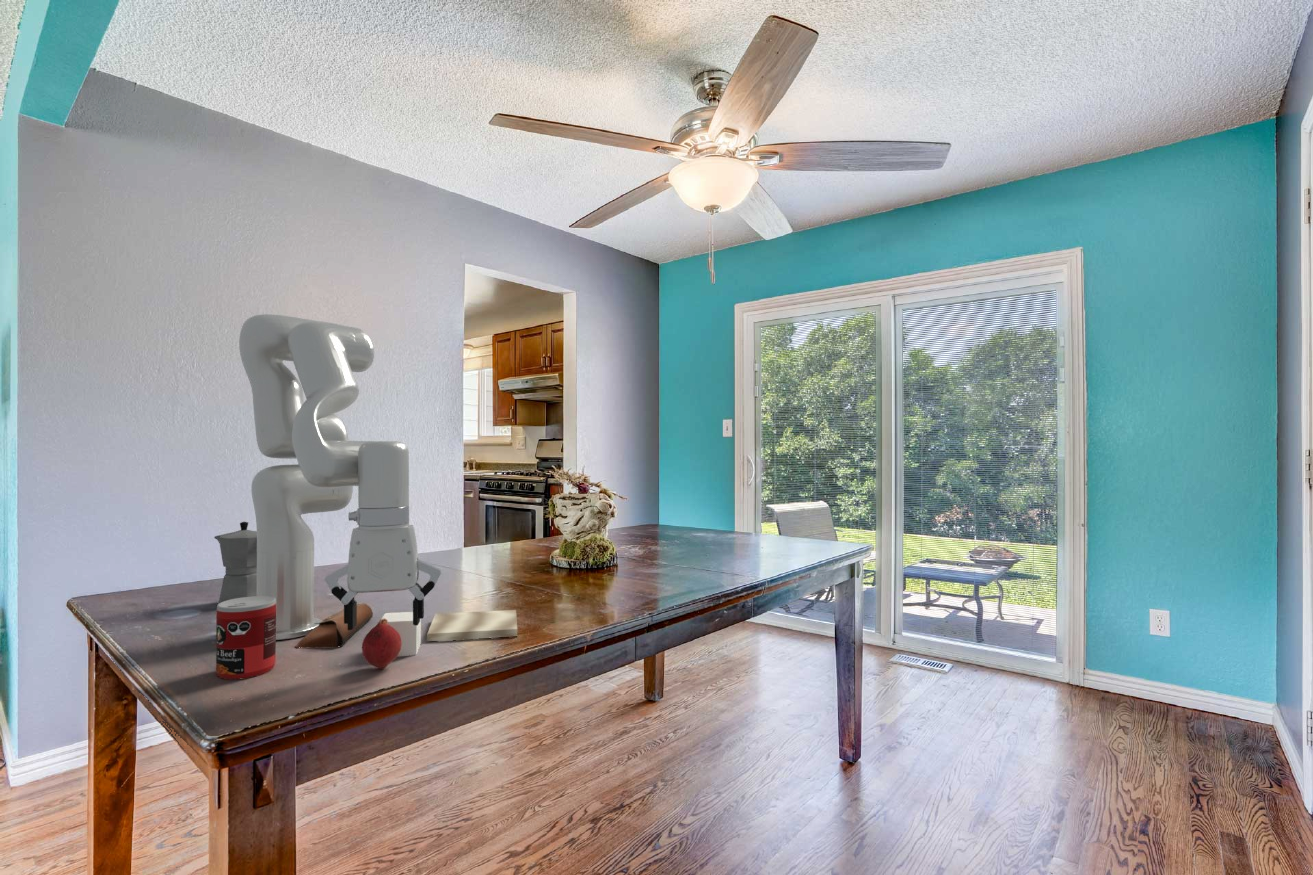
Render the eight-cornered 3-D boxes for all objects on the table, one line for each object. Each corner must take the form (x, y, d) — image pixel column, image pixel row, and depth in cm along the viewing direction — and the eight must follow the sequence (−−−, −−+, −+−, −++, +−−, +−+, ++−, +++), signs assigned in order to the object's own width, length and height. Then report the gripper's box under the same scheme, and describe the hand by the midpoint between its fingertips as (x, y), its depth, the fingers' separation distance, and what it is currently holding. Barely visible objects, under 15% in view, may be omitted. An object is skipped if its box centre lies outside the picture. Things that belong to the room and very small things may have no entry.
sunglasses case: (328, 620, 132) (347, 591, 132) (360, 637, 133) (378, 608, 133) (292, 649, 114) (313, 615, 115) (328, 668, 115) (349, 635, 115)
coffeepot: (198, 607, 141) (199, 524, 141) (229, 597, 150) (230, 518, 150) (267, 609, 140) (268, 525, 140) (294, 598, 150) (295, 519, 150)
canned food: (206, 673, 102) (207, 603, 102) (261, 659, 109) (261, 593, 109) (229, 684, 98) (230, 610, 98) (284, 669, 104) (285, 600, 104)
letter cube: (378, 658, 110) (378, 622, 110) (385, 646, 116) (385, 613, 116) (416, 656, 112) (416, 620, 112) (420, 644, 118) (421, 611, 118)
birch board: (427, 642, 119) (427, 633, 119) (435, 621, 132) (435, 613, 132) (517, 637, 122) (517, 629, 122) (516, 617, 136) (516, 609, 136)
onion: (386, 676, 101) (387, 625, 101) (353, 673, 103) (354, 622, 103) (408, 664, 107) (408, 615, 107) (376, 661, 108) (377, 613, 108)
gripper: (318, 522, 99) (319, 636, 99) (438, 518, 103) (439, 627, 103) (331, 518, 106) (332, 623, 106) (442, 514, 110) (443, 616, 110)
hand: (384, 625), depth 104 cm, fingers open, 9 cm apart
